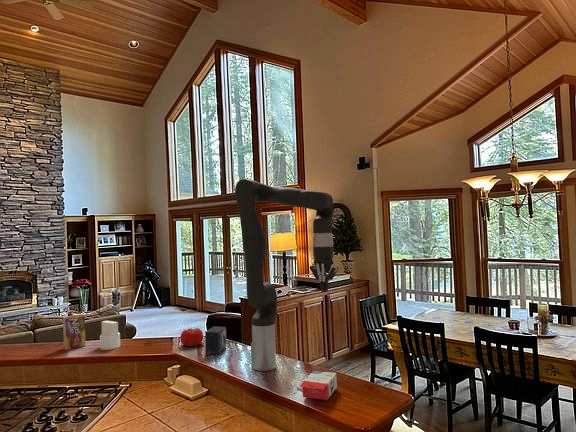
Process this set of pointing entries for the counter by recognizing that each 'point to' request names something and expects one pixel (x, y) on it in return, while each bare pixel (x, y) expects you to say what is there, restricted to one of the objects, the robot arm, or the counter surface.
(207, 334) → the small box
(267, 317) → the robot arm
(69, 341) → the candy box
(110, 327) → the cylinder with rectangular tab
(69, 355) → the counter surface
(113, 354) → the counter surface
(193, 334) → the tomato
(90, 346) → the counter surface
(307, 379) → the ink box
